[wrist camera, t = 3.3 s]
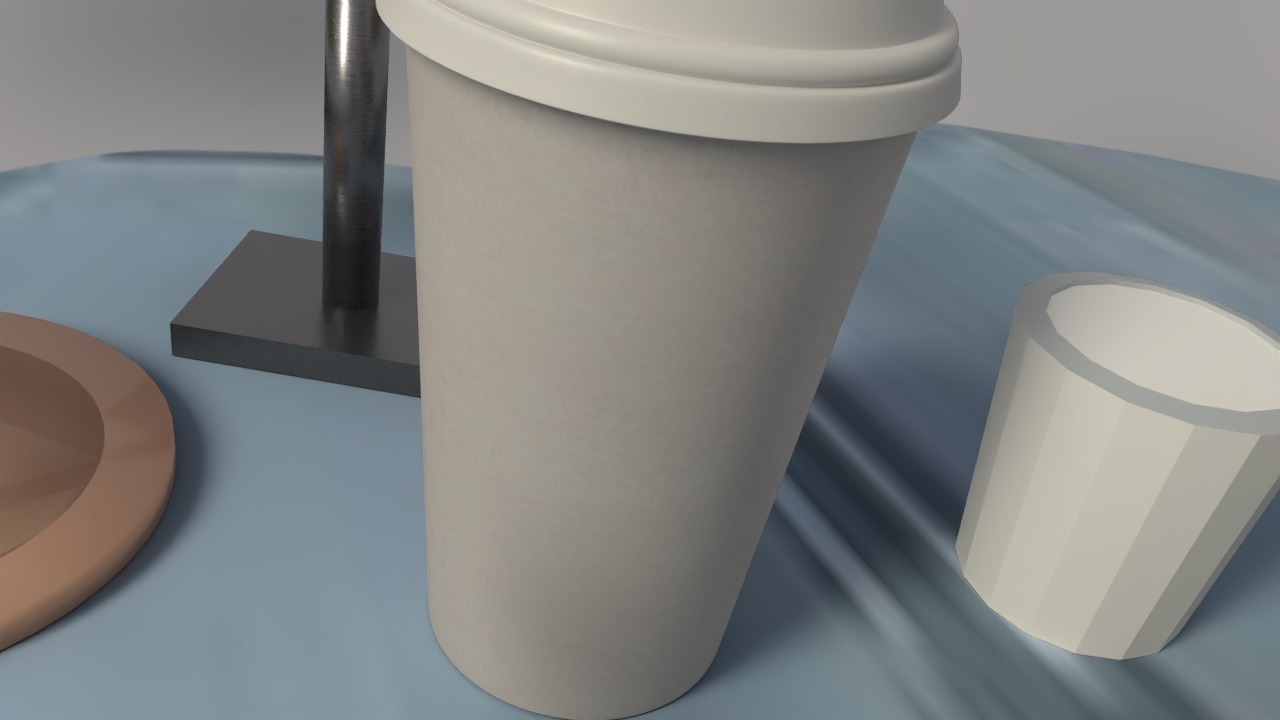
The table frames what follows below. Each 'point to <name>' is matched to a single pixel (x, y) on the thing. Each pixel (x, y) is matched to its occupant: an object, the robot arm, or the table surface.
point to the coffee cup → (634, 306)
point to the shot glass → (1119, 460)
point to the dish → (73, 469)
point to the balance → (323, 250)
